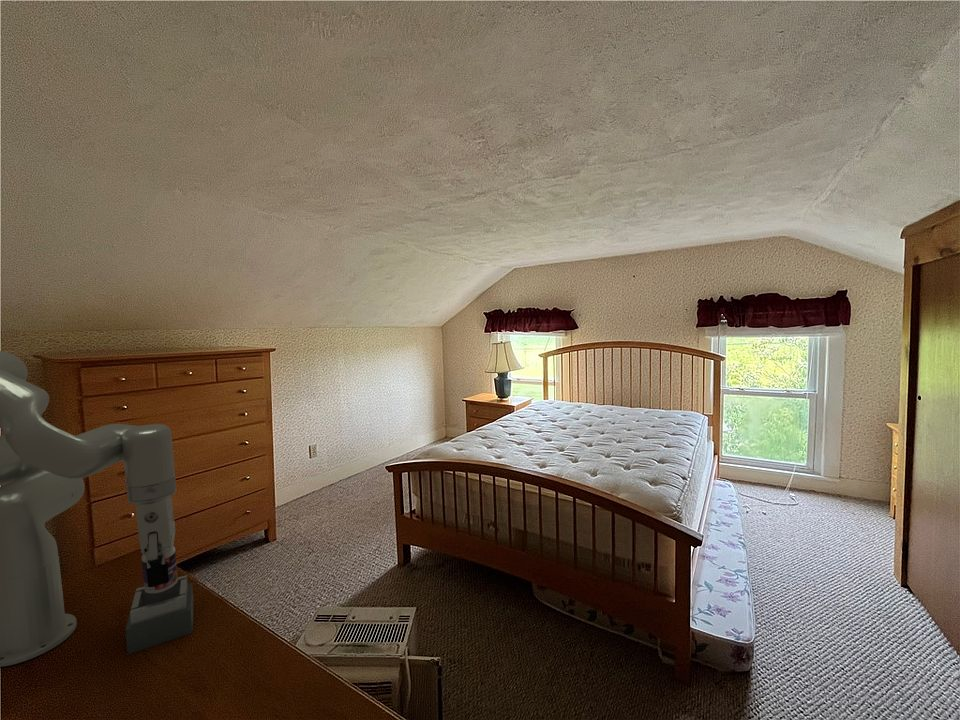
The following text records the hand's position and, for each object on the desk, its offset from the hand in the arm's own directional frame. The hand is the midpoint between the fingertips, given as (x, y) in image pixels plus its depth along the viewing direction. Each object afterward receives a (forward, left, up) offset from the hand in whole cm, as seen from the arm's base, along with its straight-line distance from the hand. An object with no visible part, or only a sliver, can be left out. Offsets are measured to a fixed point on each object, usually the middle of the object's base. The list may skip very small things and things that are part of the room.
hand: (160, 575), depth 84 cm
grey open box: (0, 0, -11) cm, 11 cm away
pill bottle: (0, 0, -2) cm, 2 cm away
